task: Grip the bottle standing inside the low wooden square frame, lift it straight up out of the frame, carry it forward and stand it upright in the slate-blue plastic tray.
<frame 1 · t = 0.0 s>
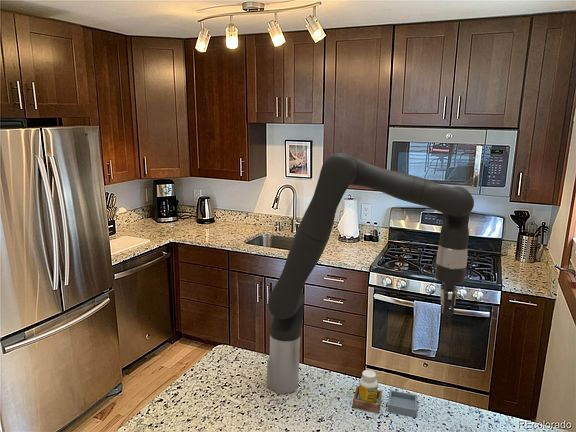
hand: (445, 320, 119), 29 cm above the countertop, tool pointing down, fingers open, 8 cm apart
tray: (402, 406, 128), on the countertop
supplement bottle: (367, 403, 130), resting in wooden square frame
wooden square frame: (367, 402, 130), on the countertop
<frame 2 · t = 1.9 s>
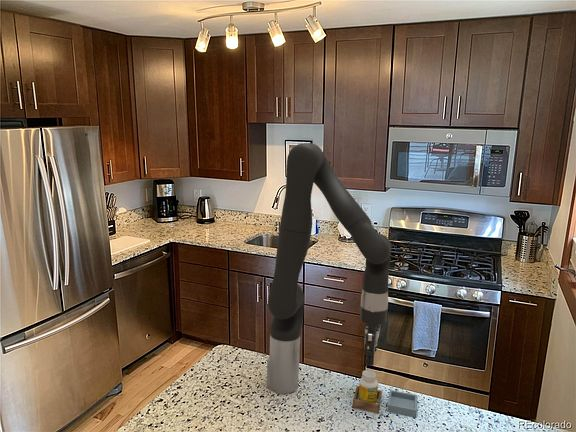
hand: (371, 357, 127), 15 cm above the countertop, tool pointing down, fingers open, 8 cm apart
nothing on the countertop moved.
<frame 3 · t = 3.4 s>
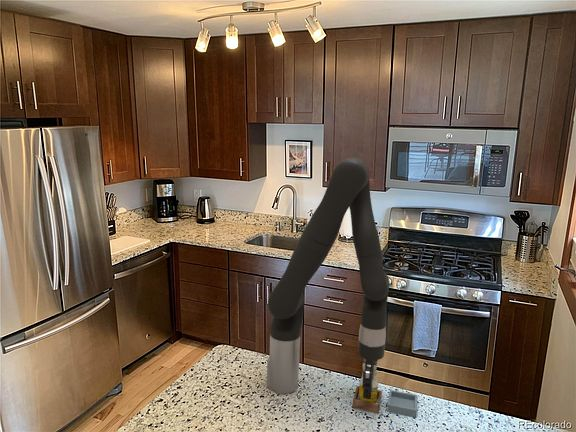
hand: (368, 392, 129), 4 cm above the countertop, tool pointing down, fingers closed on supplement bottle, 5 cm apart
supplement bottle: (367, 403, 130), resting in wooden square frame, touching gripper
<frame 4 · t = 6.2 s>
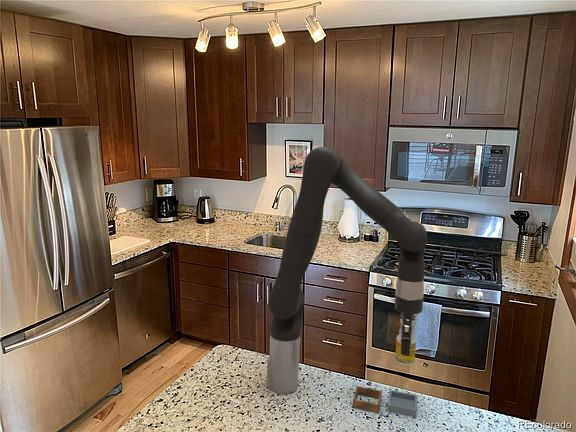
hand: (405, 349, 125), 18 cm above the countertop, tool pointing down, fingers closed on supplement bottle, 5 cm apart
supplement bottle: (404, 361, 125), point 14 cm above the countertop, touching gripper
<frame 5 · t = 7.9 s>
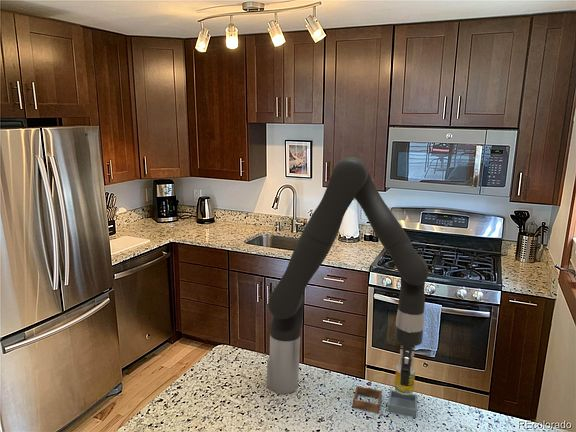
hand: (404, 379, 127), 9 cm above the countertop, tool pointing down, fingers closed on supplement bottle, 5 cm apart
supplement bottle: (403, 390, 127), point 5 cm above the countertop, touching gripper
when the fingers open (6 cm above the countertop, at t = 9.0 s): supplement bottle drops 1 cm, resting on tray.
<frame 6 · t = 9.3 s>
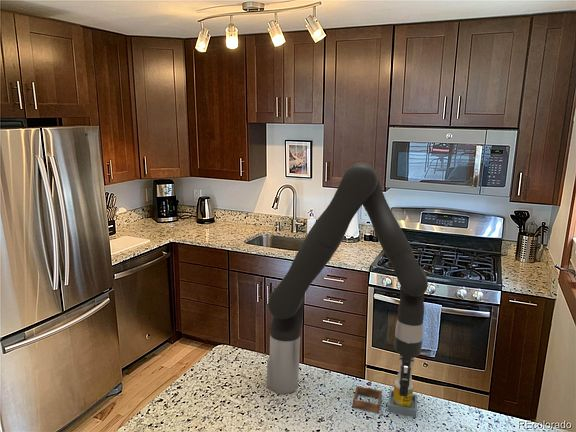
hand: (403, 387, 127), 6 cm above the countertop, tool pointing down, fingers open, 7 cm apart
supplement bottle: (401, 405, 128), resting on tray
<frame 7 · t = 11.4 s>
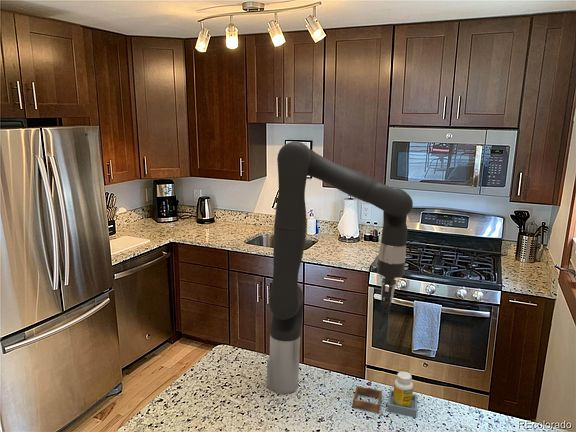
hand: (385, 311, 129), 27 cm above the countertop, tool pointing down, fingers open, 8 cm apart
nothing on the countertop moved.
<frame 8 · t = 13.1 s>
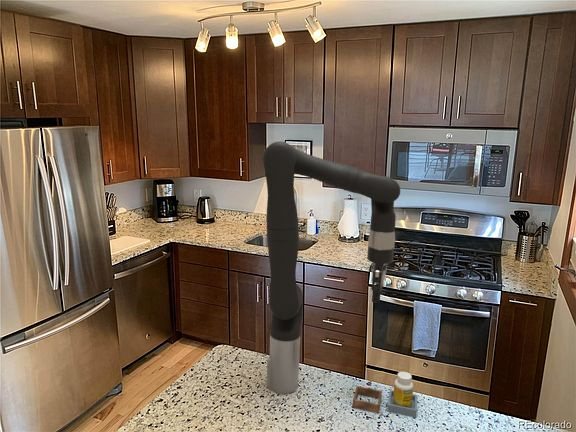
hand: (377, 297, 131), 30 cm above the countertop, tool pointing down, fingers open, 8 cm apart
nothing on the countertop moved.
at the end: supplement bottle 0.2 cm off-centre on the tray, point 0.4 cm above the tray's base; supplement bottle tilted 0°; the gripper is holding nothing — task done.
